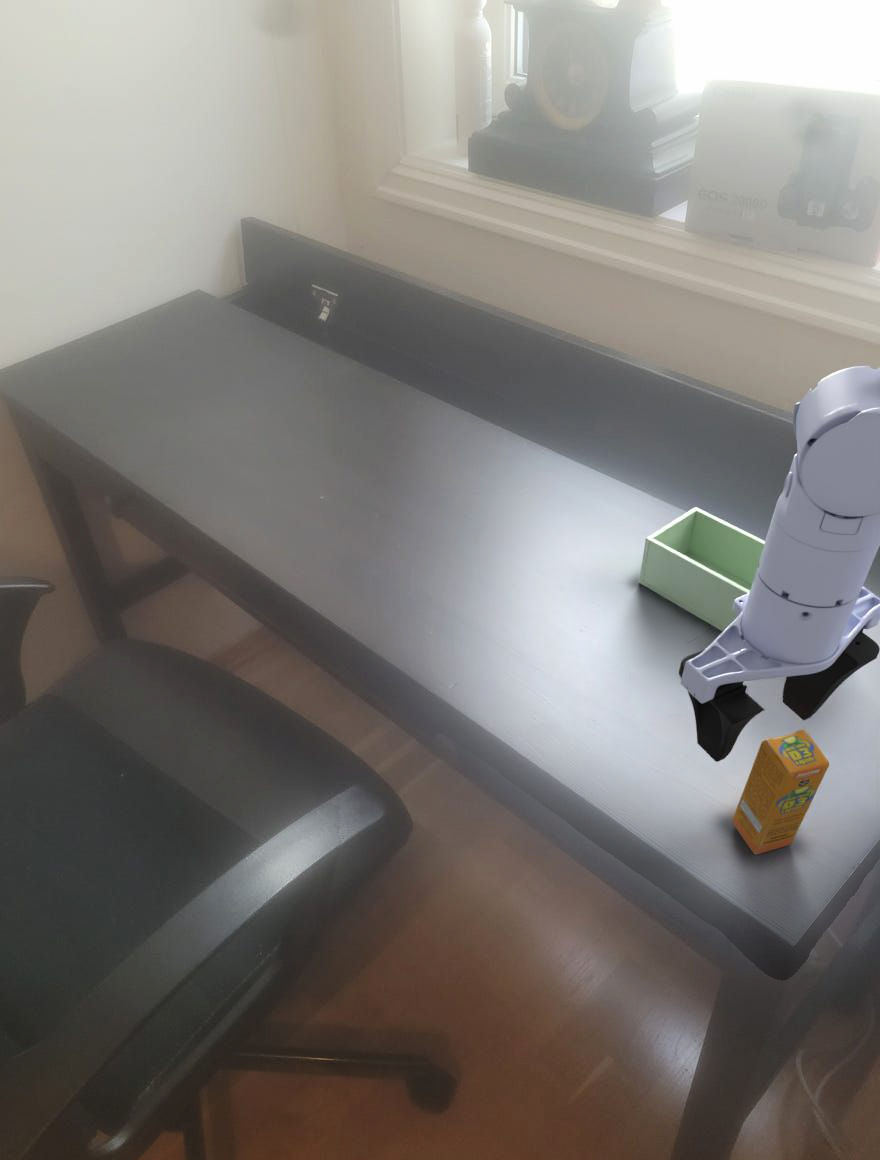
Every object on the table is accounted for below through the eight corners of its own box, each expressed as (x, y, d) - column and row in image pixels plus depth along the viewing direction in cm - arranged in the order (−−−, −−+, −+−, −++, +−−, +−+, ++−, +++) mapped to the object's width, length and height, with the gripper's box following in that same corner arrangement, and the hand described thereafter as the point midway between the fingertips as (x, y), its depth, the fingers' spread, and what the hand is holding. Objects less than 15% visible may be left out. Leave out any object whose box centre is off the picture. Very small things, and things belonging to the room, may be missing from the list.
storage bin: (819, 621, 83) (834, 575, 79) (771, 660, 80) (785, 613, 76) (686, 551, 92) (695, 506, 88) (638, 582, 89) (645, 538, 85)
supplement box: (755, 859, 65) (787, 773, 58) (730, 822, 68) (757, 735, 61) (796, 847, 66) (832, 760, 59) (769, 811, 68) (801, 723, 61)
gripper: (847, 506, 57) (791, 658, 66) (664, 576, 52) (632, 729, 62) (941, 566, 52) (866, 720, 62) (750, 649, 48) (700, 802, 57)
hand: (754, 729), depth 61 cm, fingers open, 7 cm apart
